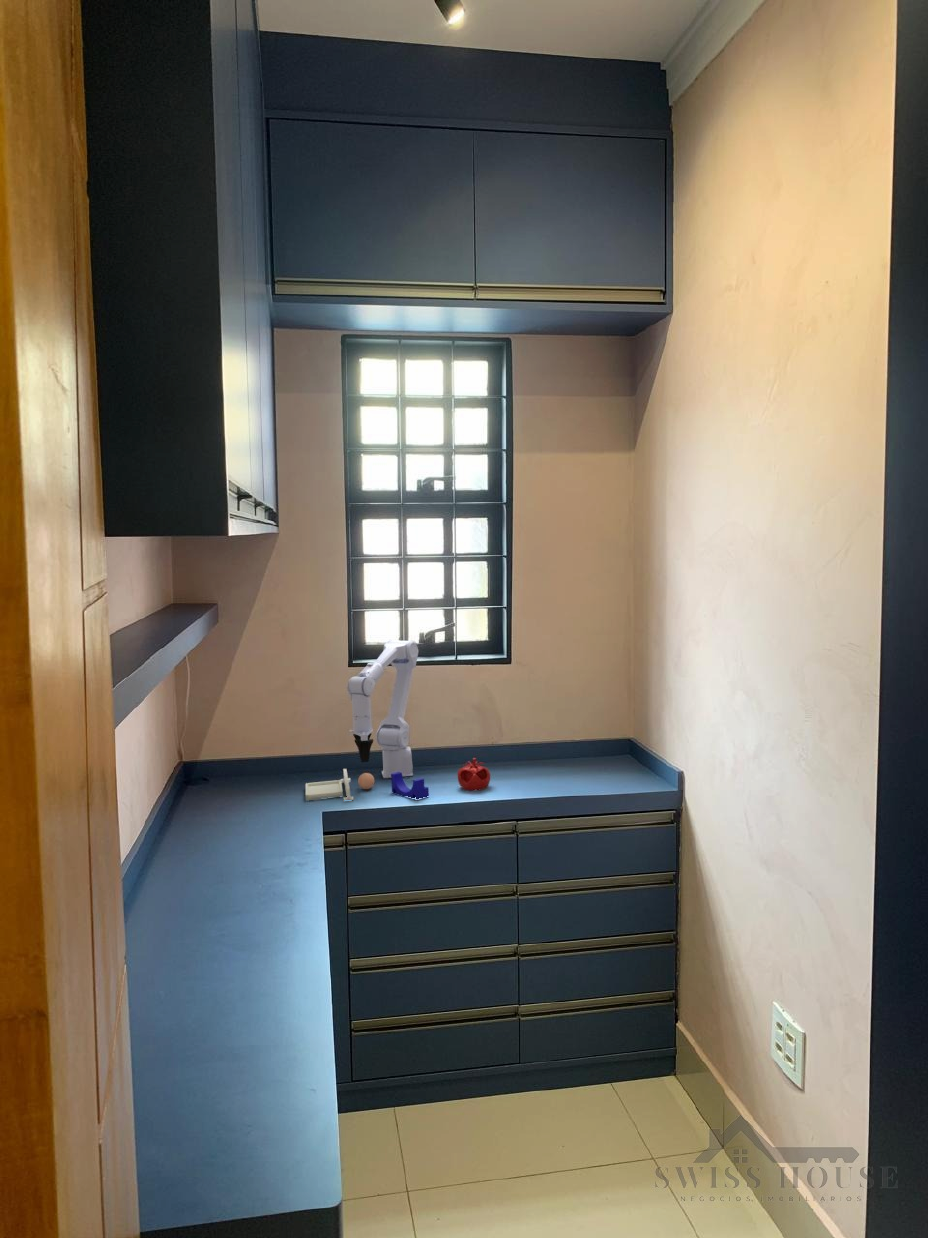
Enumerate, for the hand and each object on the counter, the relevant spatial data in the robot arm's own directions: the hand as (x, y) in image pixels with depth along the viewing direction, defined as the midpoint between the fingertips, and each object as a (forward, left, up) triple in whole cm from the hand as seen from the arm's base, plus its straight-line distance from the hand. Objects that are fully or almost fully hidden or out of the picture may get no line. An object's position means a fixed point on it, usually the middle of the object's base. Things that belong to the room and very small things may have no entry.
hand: (364, 759), depth 269 cm
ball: (0, 0, -7) cm, 7 cm away
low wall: (+6, 0, -10) cm, 11 cm away
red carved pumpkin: (-32, +10, -10) cm, 35 cm away
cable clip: (-13, +10, -10) cm, 19 cm away
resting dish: (+13, 0, -10) cm, 16 cm away
